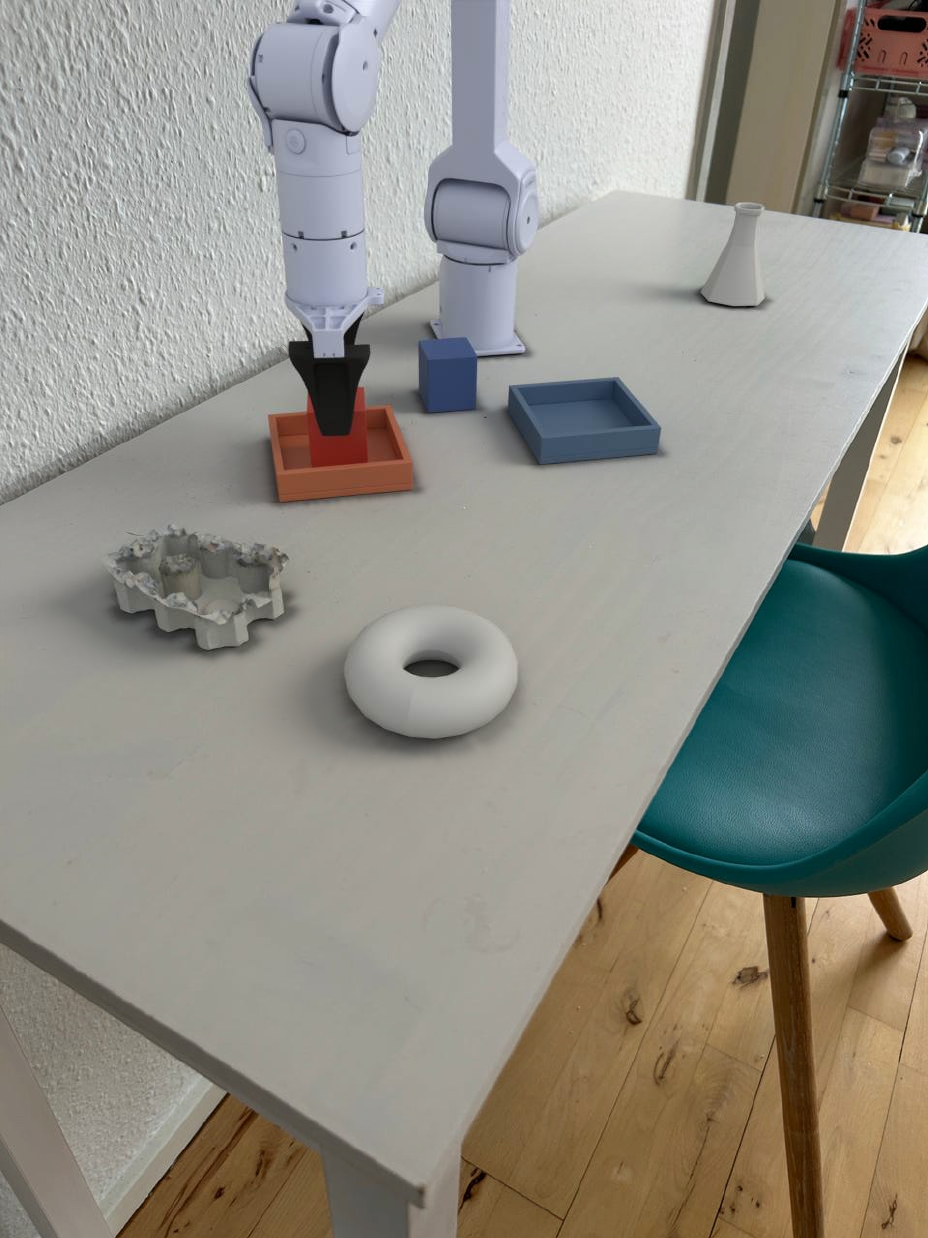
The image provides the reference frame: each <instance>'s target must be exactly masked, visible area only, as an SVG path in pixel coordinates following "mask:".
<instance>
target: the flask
mask: <svg viewBox="0 0 928 1238" xmlns="http://www.w3.org/2000/svg"><path fill="white" fill-rule="evenodd" d="M765 208H766V207H765V206H764V205H762V204H761V203H755V202H747V201H746V202H737V203H735V204H734V206H733V209H734V212H735V216H734V220H733V225H732V228H731V230H730V234H729V236H728V239H727V242H726V244H725V246H724V248H723V250H722V251H721V254H720V255H719V258H718V259H717V261H716V263H715V265H714V266H713V269H712V270H711V272H710V273H709V276H708V278H707V279H706V281H705V283H704V285H703V287H702V288H701V291H700V293H701V295H702V296H703V297H704V298H705V299H706V301H708V302H712V303H716V304H722V305H726V306H730V307H731V306H732V307H746V306H747V307H748V306H759V305H760V304H761V303H762V301H764V299H765V297H766V296H765V288H764V281H763V276H762V269H761V260H760V251H759V224H760V220H761V215H763V213H764V211H765V210H766V209H765Z"/></svg>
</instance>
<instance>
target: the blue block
mask: <svg viewBox="0 0 928 1238" xmlns="http://www.w3.org/2000/svg"><path fill="white" fill-rule="evenodd" d="M417 343H418V345H417V346H418V347H417V349H418V350H417V351H418V394H419V395H420V398H421V400H422V402H423V403H422V404H423V405H424V407H425V409H426V411H427V414H428V413H429V414H431V413H433V414H434V413H441V412H442V413H443V412H444V413H445V412H456V411H469V410H470V411H471V410H476V409H477V388H478V387H477V386H478V358H479V356H477V354H476V353H475V351H474V349H473V348H472V346H471V344H470V343H469V341H468V339H467V338H466V337H460V338H445V339H438V338H432V339H431V338H429V339H419V340H418V341H417Z"/></svg>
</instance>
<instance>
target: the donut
mask: <svg viewBox="0 0 928 1238" xmlns="http://www.w3.org/2000/svg"><path fill="white" fill-rule="evenodd" d="M425 661H441V662H444V663H448V664H452V665H453V666H455V667H457V668H458V669H457V670H456V671H455V672H453V673H450V674H448V675H442V676H436V677H431V676H430V677H429V676H419V675H415V674H412V673H411V672H408V671H407V670H405V668H406V667H408V666H409V665H411V664H414V663H417V662H425ZM518 674H519V662H518V657H517V654H516V652H515V649H514V648H513V645H512V643H511V641H510V640H509V637H508V636H507V635H506V634H505V633H504V632H503V631H502V630H501V629H500V628H499V627H498V626H496V625H495V623H493V621H490V620H489V619H486V618H485V617H484V616H481V615H479V614H477V613H475V612H473V611H471V610H469V609H464V608H461V607H457V606H453V605H448V604H447V605H446V604H429V603H428V604H427V603H425V604H419V605H418V604H417V605H411V606H404V607H401V608H399V609H395V610H392V611H389V612H387V613H384V614H383V615H380V616H379V617H377V618H376V619H375V620H373V621H372V622H370V623H368V624H367V625H365V626H364V627H363V628H362V630H361V631H360V632H359V633H358V634H357V636H356V637H355V638H354V639H353V640H352V642H351V643H350V645H349V647H348V650H347V653H346V657H345V662H344V665H343V675H344V680H345V685H346V689H347V693H348V697H349V698H350V699H351V700H352V702H353V703H354V704H355V706H356V707H357V708H358V710H359V711H360V712H361V713H362V714H363V715H364V717H365V718H367V719H369V720H370V721H372V722H373V723H375V724H376V725H377V726H379V727H381V728H383V729H384V730H386V731H390V732H393V733H396V734H399V735H402V736H406V737H409V738H419V739H421V738H422V739H435V740H438V739H442V738H443V739H444V738H450V737H455V736H461V735H462V736H463V735H465V734H468V733H470V732H472V731H475V730H478V729H479V728H481V727H484V726H486V725H487V724H488V723H490V722H491V721H492V720H493V719H494V718H496V717H497V716H498V715H500V713H502V712H503V711H504V710H505V709H506V708H507V706H508V704H509V702H510V700H511V699H512V697H513V695H514V693H515V691H516V689H517V685H518V680H519V679H518V678H519V675H518Z"/></svg>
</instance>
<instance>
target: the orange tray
mask: <svg viewBox="0 0 928 1238" xmlns="http://www.w3.org/2000/svg"><path fill="white" fill-rule="evenodd" d="M365 409H366V429H367V450H368V463H359V464H348V465H337V466H326V467H315V468H312V467H311V456H310V444H309V433H308V422H307V411H296V412H284V413H271V414H267V419H268V428H269V429H268V430H269V436H270V437H269V438H270V444H271V451H272V459H273V466H274V472H275V480H276V487H277V493H278V500H279V503H285V502H297V501H307V500H316V499H318V500H319V499H327V498H328V499H329V498H338V497H339V498H340V497H348V496H356V495H357V496H359V495H370V494H378V493H391V492H401V491H410V490H413V489H414V481H413V480H414V478H413V476H414V475H413V474H414V473H413V472H414V470H413V469H414V468H413V460H412V458H411V455H410V452H409V450H408V447H407V444H406V442H405V439H404V437H403V434H402V431H401V429H400V426H399V423H398V420H397V419H396V415H395V413H394V411H393V407H392V405H391V404H385V405H372V406H371V405H370V406H365Z"/></svg>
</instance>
